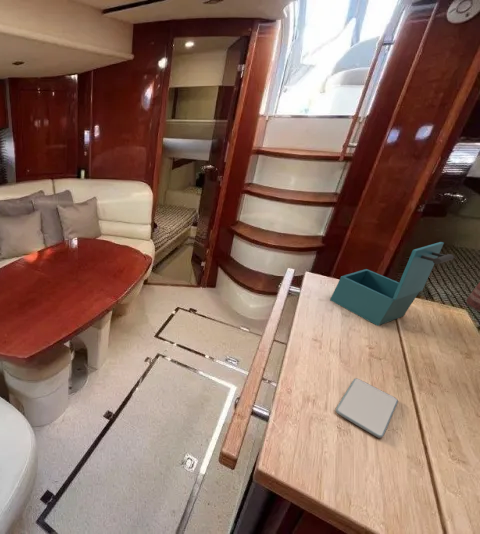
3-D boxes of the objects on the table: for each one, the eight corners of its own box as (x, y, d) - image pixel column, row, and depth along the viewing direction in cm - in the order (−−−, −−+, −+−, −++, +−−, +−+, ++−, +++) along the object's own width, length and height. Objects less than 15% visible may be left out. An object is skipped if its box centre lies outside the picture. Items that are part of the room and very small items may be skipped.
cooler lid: (412, 249, 83) (437, 255, 78) (440, 241, 86) (465, 247, 82) (392, 298, 89) (414, 306, 85) (418, 289, 92) (440, 296, 88)
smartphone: (399, 399, 71) (382, 438, 63) (397, 401, 71) (380, 441, 63) (355, 376, 77) (335, 409, 69) (353, 379, 77) (333, 412, 69)
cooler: (329, 300, 106) (341, 276, 101) (354, 292, 109) (366, 268, 104) (377, 326, 94) (393, 300, 89) (403, 316, 97) (419, 291, 92)
